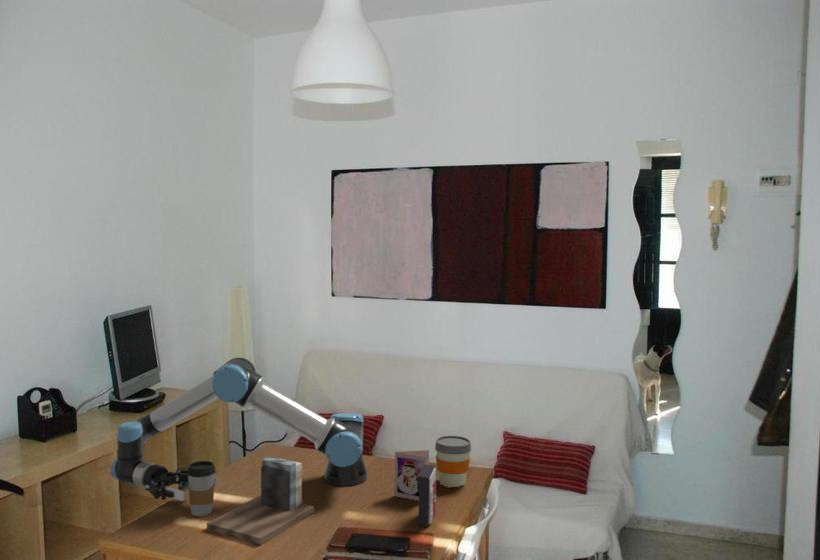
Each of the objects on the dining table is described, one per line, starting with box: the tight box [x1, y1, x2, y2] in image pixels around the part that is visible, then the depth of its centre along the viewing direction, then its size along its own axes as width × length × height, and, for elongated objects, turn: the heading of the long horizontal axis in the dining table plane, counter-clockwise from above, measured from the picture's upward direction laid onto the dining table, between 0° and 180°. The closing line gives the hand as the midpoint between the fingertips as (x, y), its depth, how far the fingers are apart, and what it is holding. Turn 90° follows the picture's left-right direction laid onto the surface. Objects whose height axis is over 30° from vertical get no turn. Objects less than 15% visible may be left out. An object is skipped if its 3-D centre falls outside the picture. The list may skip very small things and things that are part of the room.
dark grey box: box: [417, 464, 437, 527], centre depth 203 cm, size 11×4×15 cm, turn 168°
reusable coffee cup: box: [434, 435, 472, 488], centre depth 233 cm, size 13×13×15 cm
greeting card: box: [393, 449, 430, 501], centre depth 221 cm, size 11×7×15 cm, turn 65°
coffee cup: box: [187, 460, 216, 517], centre depth 205 cm, size 8×8×15 cm
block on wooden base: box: [206, 456, 315, 546], centre depth 200 cm, size 20×25×16 cm
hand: (200, 488), depth 205 cm, fingers open, 13 cm apart
